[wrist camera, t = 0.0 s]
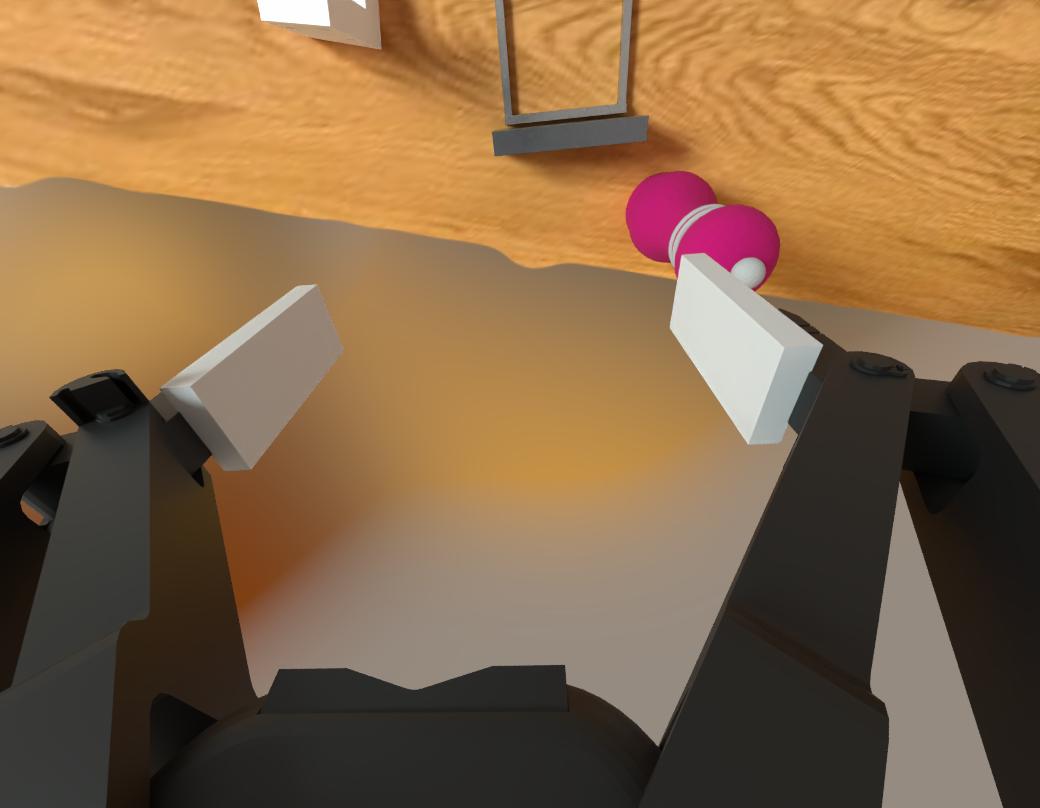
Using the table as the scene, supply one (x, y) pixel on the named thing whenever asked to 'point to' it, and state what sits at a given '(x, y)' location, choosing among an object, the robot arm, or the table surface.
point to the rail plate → (569, 132)
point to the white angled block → (327, 19)
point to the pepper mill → (700, 227)
